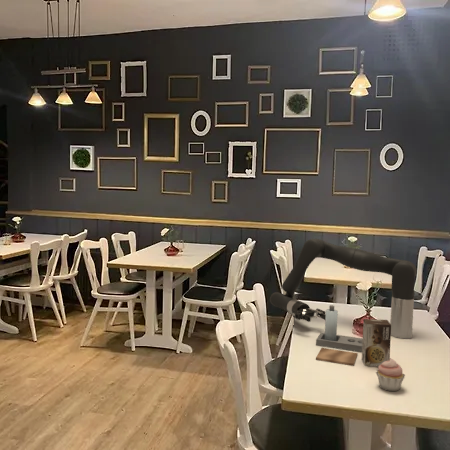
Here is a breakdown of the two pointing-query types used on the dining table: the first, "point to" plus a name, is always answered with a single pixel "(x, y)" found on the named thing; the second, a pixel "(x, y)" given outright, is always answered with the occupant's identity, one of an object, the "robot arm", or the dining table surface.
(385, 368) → the cupcake
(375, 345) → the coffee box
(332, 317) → the pale blue bottle
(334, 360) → the walnut board
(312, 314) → the robot arm
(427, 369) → the dining table surface
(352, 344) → the grey tray
